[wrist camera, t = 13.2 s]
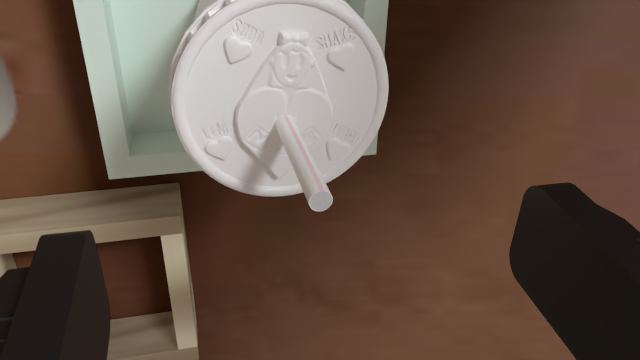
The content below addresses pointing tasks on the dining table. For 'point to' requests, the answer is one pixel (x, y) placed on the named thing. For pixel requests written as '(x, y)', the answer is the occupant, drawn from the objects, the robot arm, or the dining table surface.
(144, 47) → the tray
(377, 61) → the smoothie
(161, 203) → the rectangular wooden frame
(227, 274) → the dining table surface
